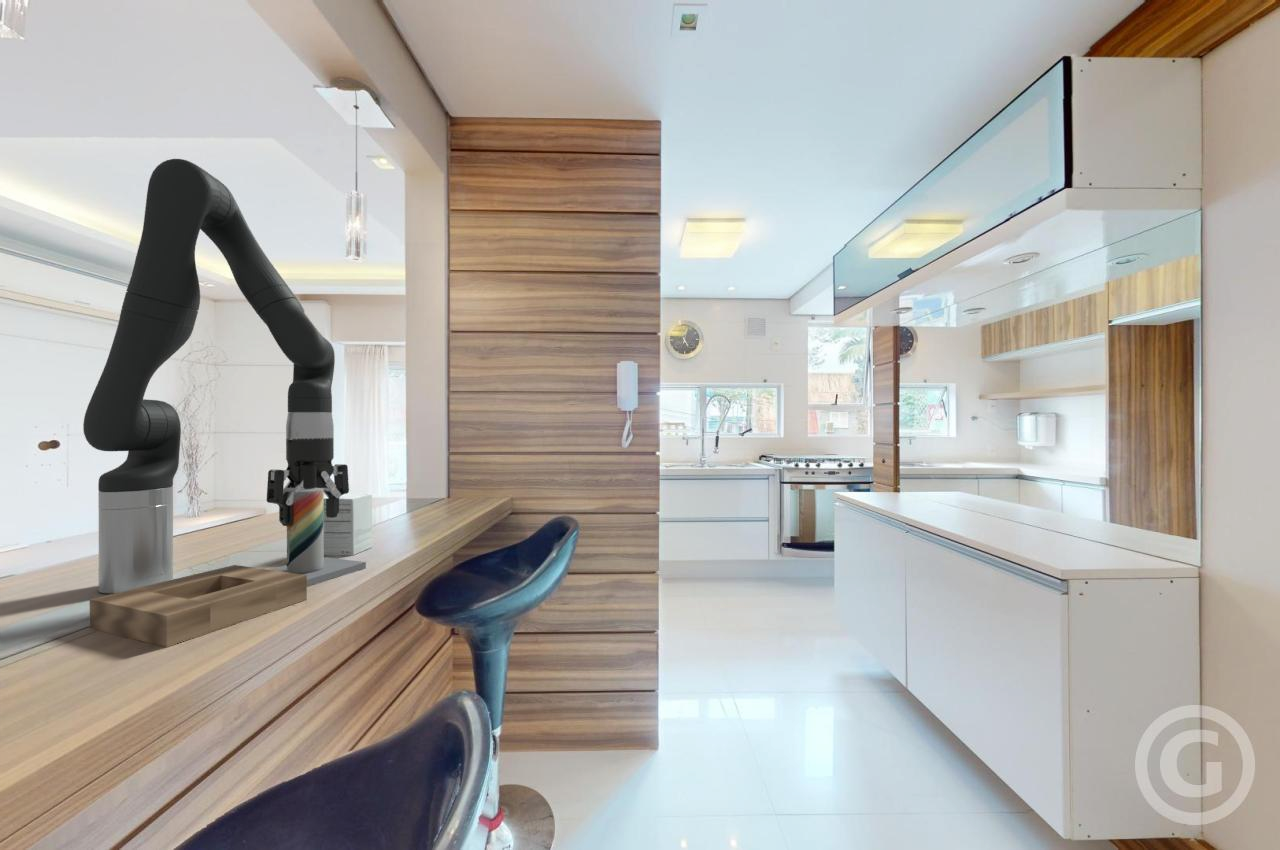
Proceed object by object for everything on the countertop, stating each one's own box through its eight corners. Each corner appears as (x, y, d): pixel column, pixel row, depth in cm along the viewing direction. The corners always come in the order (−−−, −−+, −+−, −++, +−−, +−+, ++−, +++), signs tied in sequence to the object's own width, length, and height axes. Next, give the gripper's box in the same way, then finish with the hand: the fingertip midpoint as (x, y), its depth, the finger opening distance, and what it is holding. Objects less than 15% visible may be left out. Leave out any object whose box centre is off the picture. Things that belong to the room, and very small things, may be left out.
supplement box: (343, 547, 114) (342, 493, 114) (373, 547, 113) (373, 493, 113) (320, 555, 106) (320, 498, 106) (352, 556, 106) (352, 498, 106)
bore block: (89, 627, 68) (89, 599, 68) (234, 587, 85) (234, 564, 85) (166, 647, 62) (166, 615, 62) (306, 599, 79) (306, 575, 79)
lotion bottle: (281, 571, 90) (281, 464, 91) (315, 564, 95) (314, 462, 95) (295, 576, 87) (294, 465, 87) (329, 568, 92) (329, 463, 92)
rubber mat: (250, 580, 89) (250, 574, 89) (319, 562, 101) (319, 556, 101) (300, 588, 84) (300, 581, 84) (365, 568, 96) (365, 562, 96)
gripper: (331, 435, 101) (331, 514, 101) (256, 437, 87) (257, 527, 87) (358, 435, 98) (358, 516, 98) (285, 437, 85) (285, 530, 85)
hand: (310, 521), depth 93 cm, fingers open, 8 cm apart
